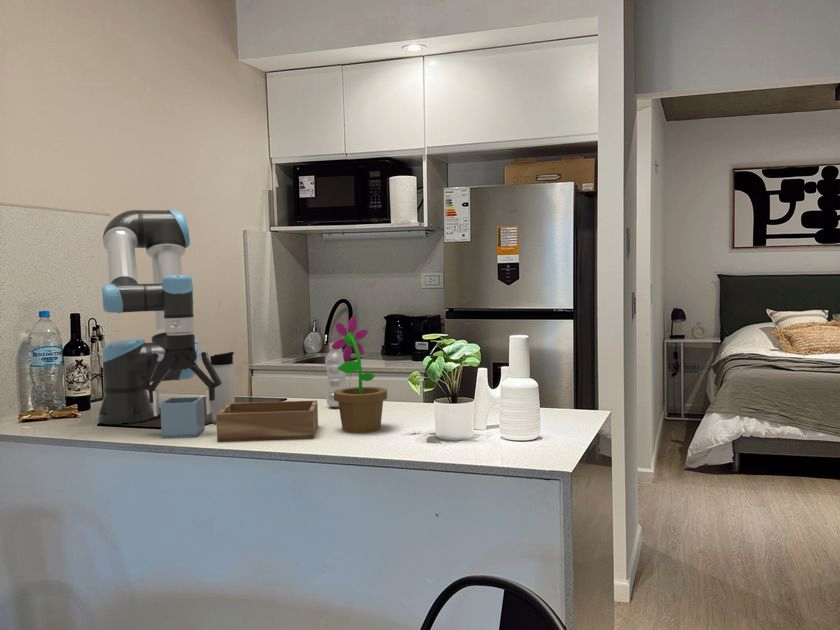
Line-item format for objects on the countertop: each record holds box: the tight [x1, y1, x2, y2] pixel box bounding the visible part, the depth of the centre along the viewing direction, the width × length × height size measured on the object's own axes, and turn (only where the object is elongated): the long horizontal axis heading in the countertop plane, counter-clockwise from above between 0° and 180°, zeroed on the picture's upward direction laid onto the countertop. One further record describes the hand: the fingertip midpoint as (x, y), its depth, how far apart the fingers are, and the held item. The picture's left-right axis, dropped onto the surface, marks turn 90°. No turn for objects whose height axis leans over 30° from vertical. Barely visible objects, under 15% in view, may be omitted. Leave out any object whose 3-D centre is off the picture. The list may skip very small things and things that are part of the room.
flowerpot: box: [332, 315, 388, 434], centre depth 205 cm, size 14×14×30 cm
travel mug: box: [209, 351, 236, 425], centre depth 218 cm, size 6×7×20 cm
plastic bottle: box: [324, 342, 347, 409], centre depth 237 cm, size 6×7×20 cm
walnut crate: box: [216, 399, 319, 443], centre depth 202 cm, size 16×24×7 cm, turn 93°
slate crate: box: [159, 396, 206, 439], centre depth 204 cm, size 9×9×9 cm
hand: (183, 414), depth 203 cm, fingers open, 13 cm apart
